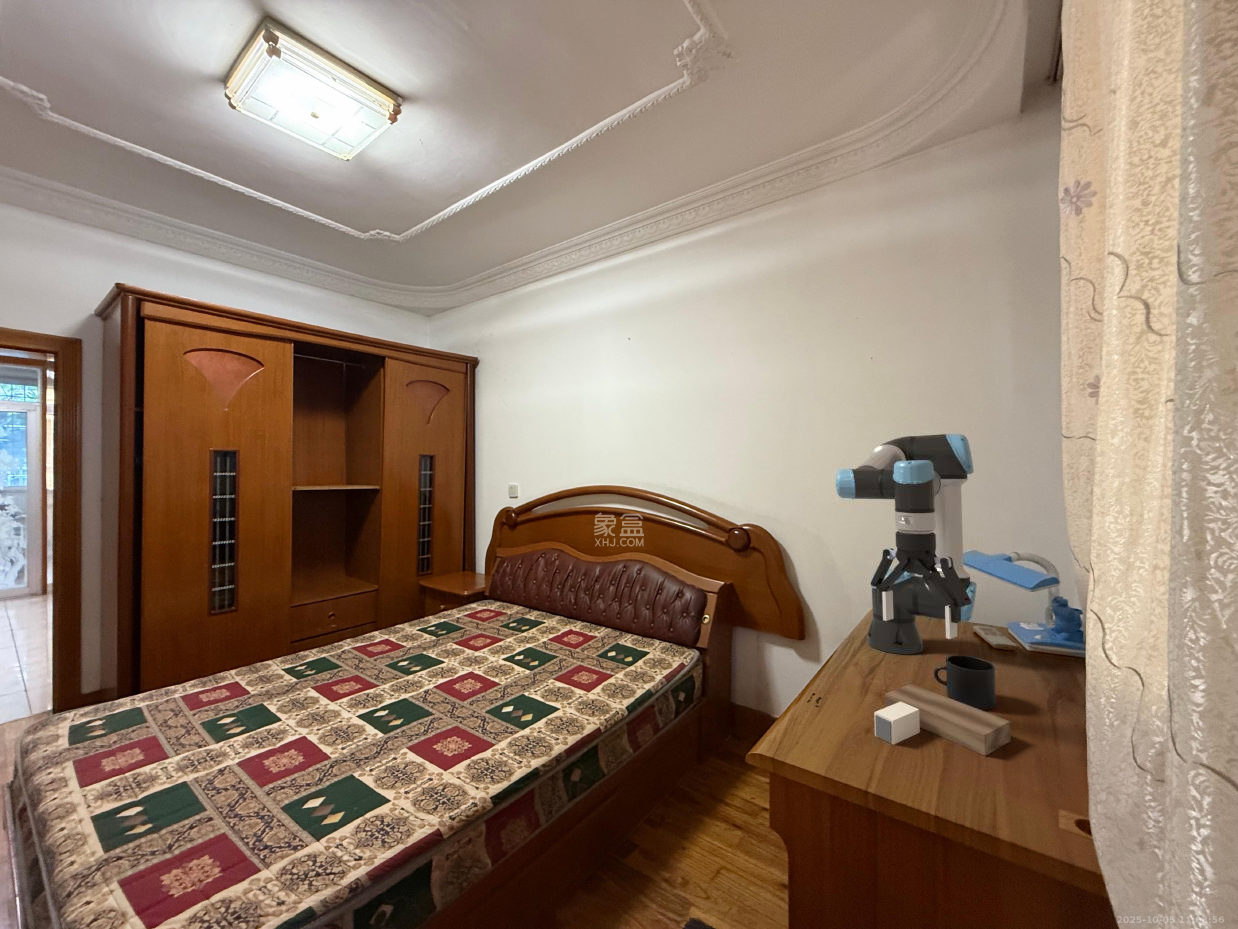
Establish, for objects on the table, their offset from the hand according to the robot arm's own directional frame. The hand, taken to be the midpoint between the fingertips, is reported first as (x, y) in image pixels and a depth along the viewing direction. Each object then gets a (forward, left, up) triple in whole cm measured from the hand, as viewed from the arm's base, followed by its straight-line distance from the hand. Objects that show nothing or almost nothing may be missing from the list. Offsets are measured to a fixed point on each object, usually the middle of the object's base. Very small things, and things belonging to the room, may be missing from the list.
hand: (918, 628), depth 106 cm
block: (+4, 0, -18) cm, 19 cm away
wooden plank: (-3, +3, -21) cm, 21 cm away
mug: (-19, -1, -21) cm, 28 cm away
